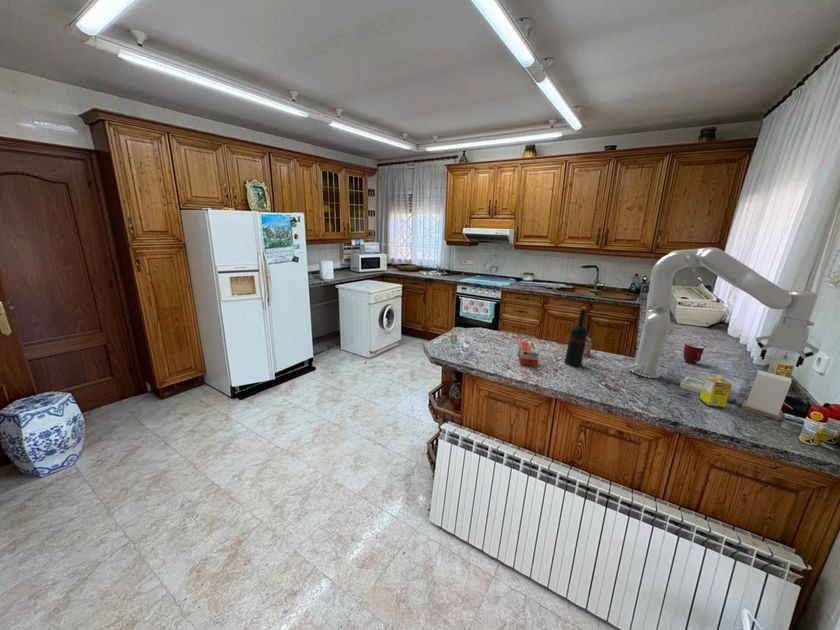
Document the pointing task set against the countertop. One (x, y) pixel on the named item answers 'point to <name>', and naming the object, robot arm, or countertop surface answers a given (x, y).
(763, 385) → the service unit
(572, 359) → the wine bottle
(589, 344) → the lighter
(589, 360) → the countertop surface
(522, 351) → the medicine box
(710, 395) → the supplement box
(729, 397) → the steel bushing
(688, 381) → the parts tray
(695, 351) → the mug
